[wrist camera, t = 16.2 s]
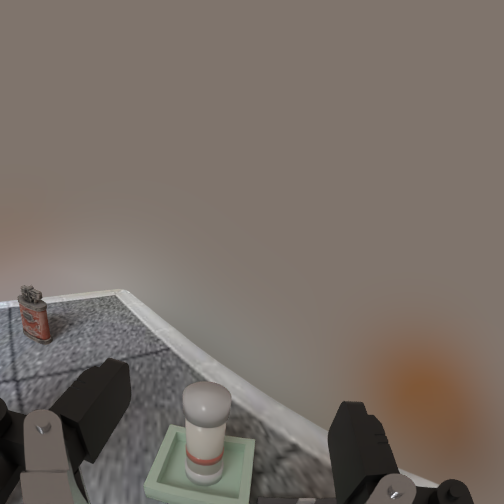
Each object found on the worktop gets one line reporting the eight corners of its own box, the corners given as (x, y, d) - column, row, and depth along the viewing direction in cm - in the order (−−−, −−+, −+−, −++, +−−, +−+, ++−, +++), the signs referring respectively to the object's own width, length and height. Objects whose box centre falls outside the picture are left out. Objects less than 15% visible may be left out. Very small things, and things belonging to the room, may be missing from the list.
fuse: (181, 481, 23) (177, 405, 20) (189, 456, 27) (189, 377, 24) (219, 489, 22) (227, 415, 20) (225, 463, 26) (234, 385, 24)
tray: (146, 497, 20) (143, 486, 20) (171, 437, 30) (170, 424, 29) (245, 517, 20) (248, 507, 19) (252, 451, 29) (255, 439, 29)
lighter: (20, 332, 42) (12, 284, 40) (31, 327, 45) (24, 280, 43) (44, 346, 41) (35, 295, 39) (55, 339, 44) (48, 290, 42)
